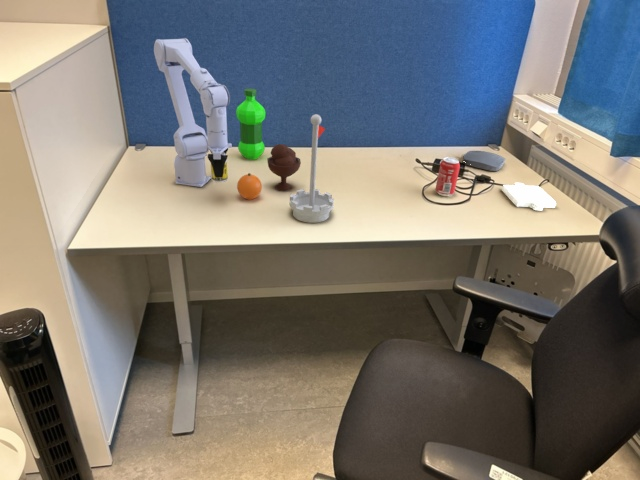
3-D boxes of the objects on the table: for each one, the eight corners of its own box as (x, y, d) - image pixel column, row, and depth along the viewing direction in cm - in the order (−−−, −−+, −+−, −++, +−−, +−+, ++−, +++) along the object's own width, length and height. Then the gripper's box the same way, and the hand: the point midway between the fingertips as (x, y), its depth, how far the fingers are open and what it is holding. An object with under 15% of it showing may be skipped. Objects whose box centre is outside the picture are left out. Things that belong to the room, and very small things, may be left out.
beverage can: (455, 192, 161) (462, 159, 155) (451, 198, 156) (459, 165, 150) (437, 188, 163) (443, 155, 157) (432, 194, 158) (439, 161, 152)
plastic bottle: (232, 155, 179) (229, 88, 166) (255, 150, 185) (254, 85, 172) (247, 164, 172) (246, 94, 160) (270, 158, 179) (270, 91, 166)
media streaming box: (496, 173, 178) (498, 166, 177) (459, 164, 185) (461, 157, 183) (505, 162, 189) (507, 155, 188) (470, 154, 196) (471, 147, 194)
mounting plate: (499, 187, 167) (500, 182, 166) (534, 188, 168) (535, 183, 167) (519, 210, 152) (521, 204, 151) (558, 211, 152) (560, 206, 151)
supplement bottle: (214, 183, 140) (212, 156, 136) (209, 177, 144) (208, 151, 139) (229, 181, 142) (228, 155, 138) (225, 175, 146) (223, 149, 141)
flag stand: (317, 228, 133) (324, 124, 118) (280, 215, 139) (282, 114, 124) (340, 212, 143) (349, 114, 128) (304, 200, 148) (309, 105, 133)
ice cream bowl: (295, 196, 151) (297, 151, 143) (262, 191, 153) (262, 147, 145) (303, 183, 160) (305, 140, 152) (272, 179, 162) (272, 136, 154)
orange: (234, 200, 145) (233, 176, 141) (242, 191, 152) (241, 167, 148) (257, 204, 144) (257, 180, 140) (264, 194, 151) (264, 170, 147)
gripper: (230, 137, 129) (232, 183, 136) (231, 122, 142) (233, 164, 149) (204, 137, 128) (207, 183, 135) (207, 121, 141) (210, 164, 147)
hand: (219, 173), depth 142 cm, fingers closed on supplement bottle, 5 cm apart
